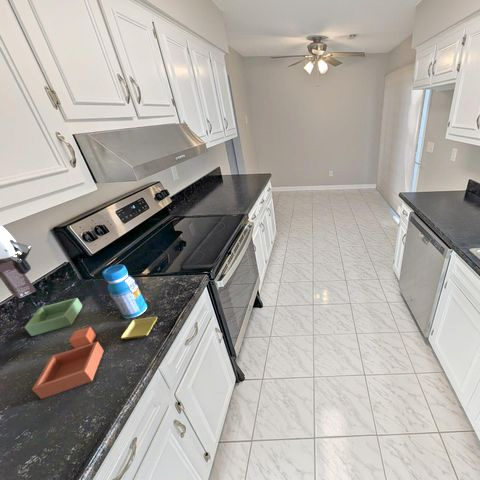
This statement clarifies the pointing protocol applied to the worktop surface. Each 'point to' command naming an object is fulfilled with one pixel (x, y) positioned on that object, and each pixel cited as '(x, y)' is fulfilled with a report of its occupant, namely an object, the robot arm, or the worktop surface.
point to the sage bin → (54, 316)
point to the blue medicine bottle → (124, 291)
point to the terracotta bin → (69, 370)
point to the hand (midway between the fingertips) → (11, 274)
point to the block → (82, 337)
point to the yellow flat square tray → (139, 328)
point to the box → (15, 278)
